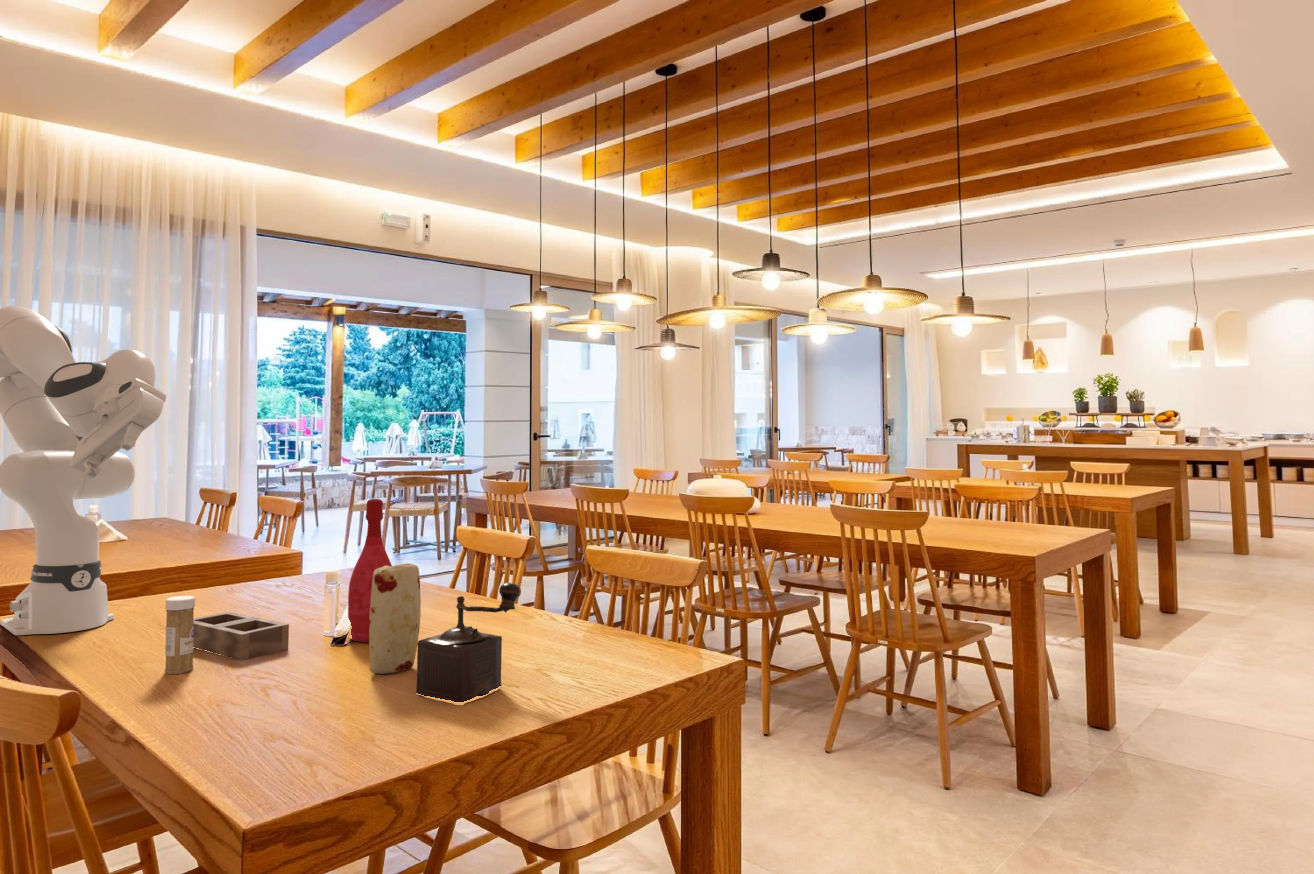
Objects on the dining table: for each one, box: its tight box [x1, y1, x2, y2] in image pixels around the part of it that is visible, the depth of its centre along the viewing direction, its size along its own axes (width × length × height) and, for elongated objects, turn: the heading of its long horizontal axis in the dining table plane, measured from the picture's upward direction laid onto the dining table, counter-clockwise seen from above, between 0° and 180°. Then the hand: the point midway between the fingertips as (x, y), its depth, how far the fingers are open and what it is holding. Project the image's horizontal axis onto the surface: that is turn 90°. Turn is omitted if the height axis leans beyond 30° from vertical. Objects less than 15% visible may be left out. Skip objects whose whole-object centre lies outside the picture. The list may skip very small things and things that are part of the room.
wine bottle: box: [347, 498, 393, 643], centre depth 167 cm, size 10×10×30 cm
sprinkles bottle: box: [164, 595, 196, 675], centre depth 141 cm, size 5×5×13 cm
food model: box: [368, 562, 422, 675], centre depth 144 cm, size 10×7×20 cm
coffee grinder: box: [415, 582, 522, 702], centre depth 135 cm, size 16×11×18 cm
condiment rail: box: [193, 611, 290, 661], centre depth 157 cm, size 20×10×5 cm, turn 61°
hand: (109, 461), depth 141 cm, fingers open, 8 cm apart
